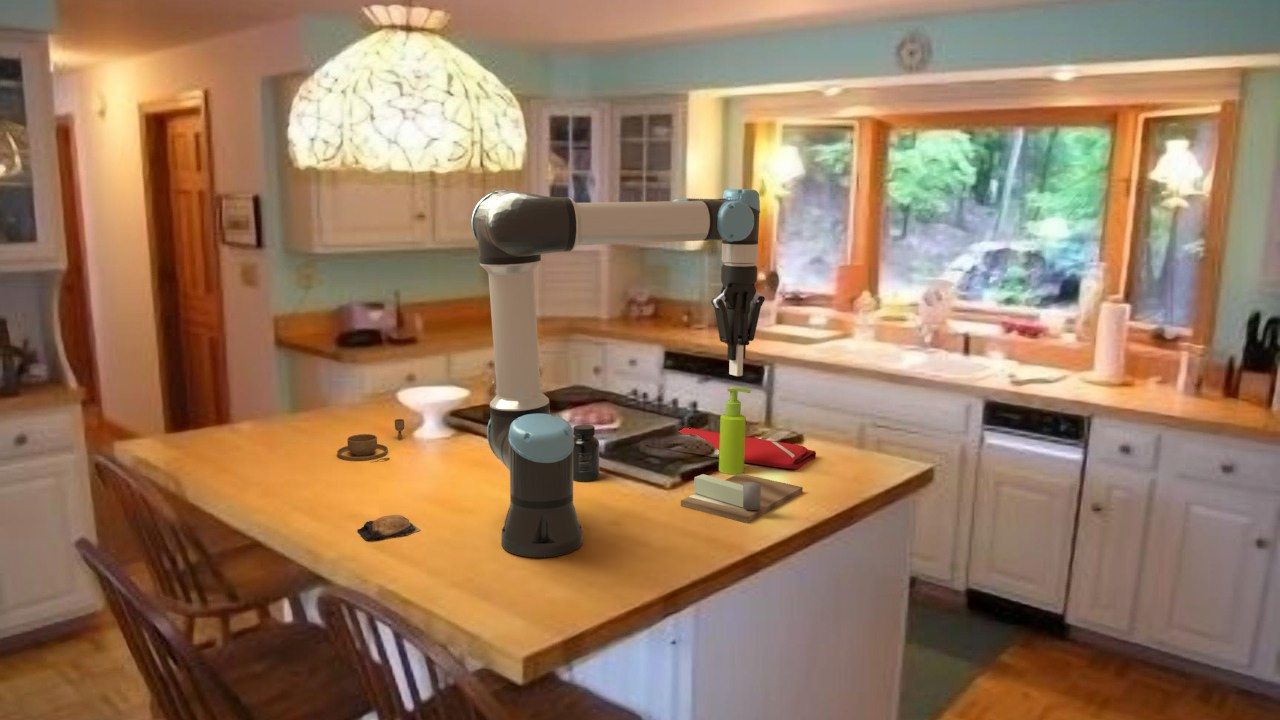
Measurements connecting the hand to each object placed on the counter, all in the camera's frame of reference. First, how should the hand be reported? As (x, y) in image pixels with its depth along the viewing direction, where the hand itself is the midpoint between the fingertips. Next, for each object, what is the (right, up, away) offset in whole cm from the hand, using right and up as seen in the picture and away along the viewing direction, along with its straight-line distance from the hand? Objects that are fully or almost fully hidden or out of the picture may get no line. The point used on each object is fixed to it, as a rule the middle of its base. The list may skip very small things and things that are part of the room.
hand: (735, 374), depth 201 cm
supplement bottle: (-33, -24, +14) cm, 43 cm away
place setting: (-85, -20, +33) cm, 94 cm away
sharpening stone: (-2, -26, -4) cm, 27 cm away
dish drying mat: (+2, -21, +37) cm, 42 cm away
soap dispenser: (+2, -23, +21) cm, 31 cm away
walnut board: (+2, -27, +1) cm, 27 cm away
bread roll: (-69, -31, -20) cm, 78 cm away
